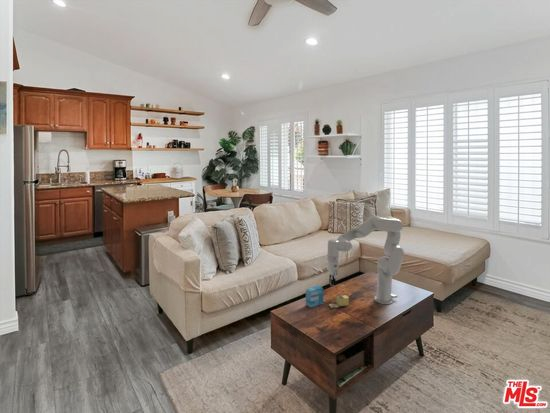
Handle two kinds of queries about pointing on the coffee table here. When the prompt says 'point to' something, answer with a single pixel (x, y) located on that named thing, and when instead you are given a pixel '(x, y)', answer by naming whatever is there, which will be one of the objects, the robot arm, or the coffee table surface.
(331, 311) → the coffee table surface
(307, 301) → the data package
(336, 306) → the beige striped flat block
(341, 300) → the yellow and grey block
